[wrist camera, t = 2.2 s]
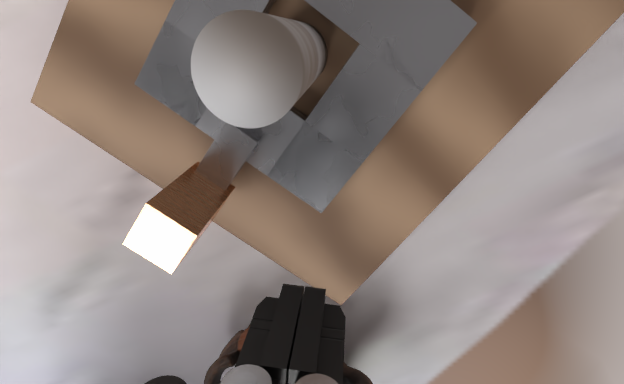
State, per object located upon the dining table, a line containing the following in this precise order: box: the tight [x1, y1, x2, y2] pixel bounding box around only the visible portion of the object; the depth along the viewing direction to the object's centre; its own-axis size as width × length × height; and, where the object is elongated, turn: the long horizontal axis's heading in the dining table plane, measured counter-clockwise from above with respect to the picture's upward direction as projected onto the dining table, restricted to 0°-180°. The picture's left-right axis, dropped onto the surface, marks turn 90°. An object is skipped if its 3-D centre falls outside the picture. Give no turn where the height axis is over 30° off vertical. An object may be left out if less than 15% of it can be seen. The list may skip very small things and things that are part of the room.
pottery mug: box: [204, 325, 373, 384], centre depth 27 cm, size 12×10×8 cm
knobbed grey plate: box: [123, 0, 477, 274], centre depth 17 cm, size 16×12×7 cm
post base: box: [31, 0, 624, 305], centre depth 16 cm, size 22×22×12 cm
